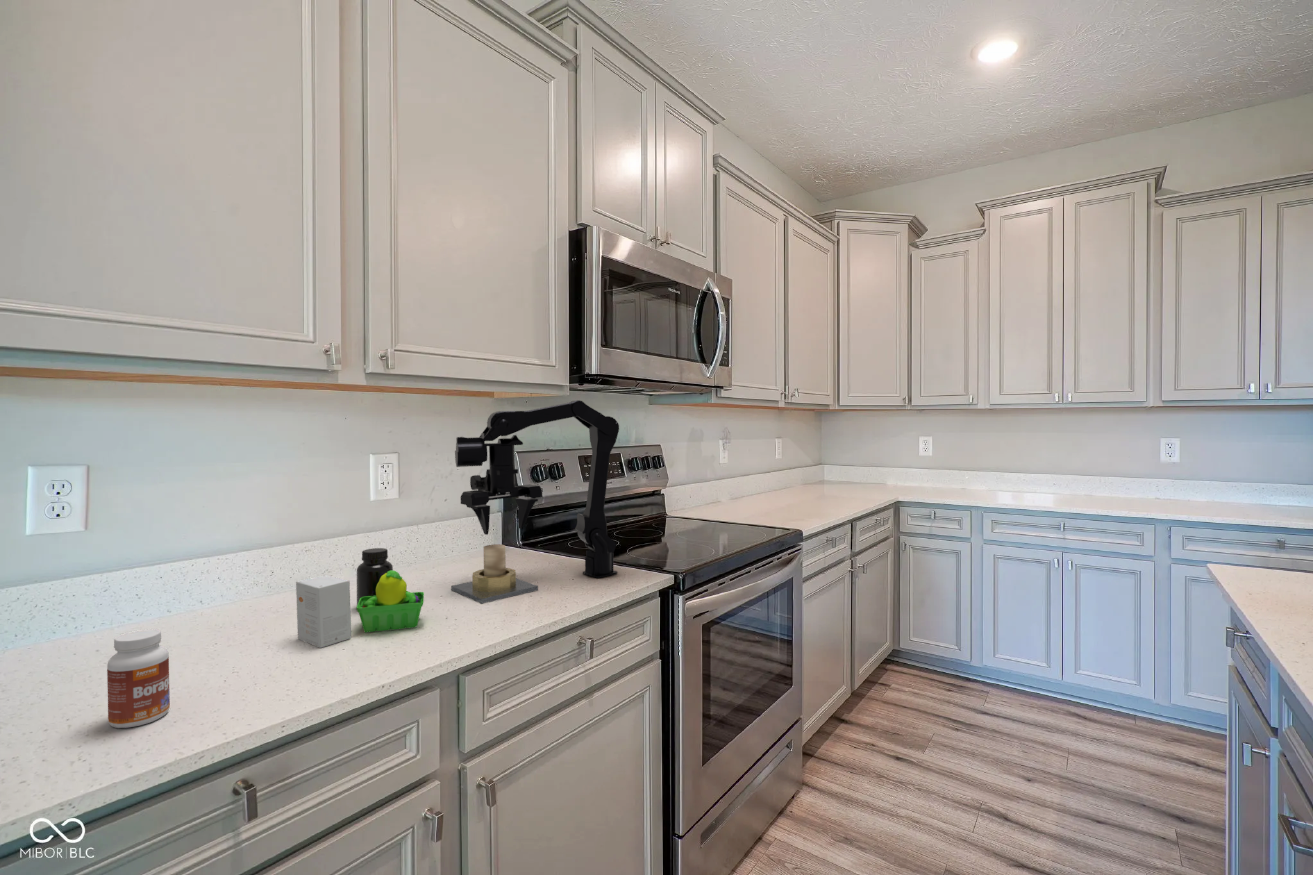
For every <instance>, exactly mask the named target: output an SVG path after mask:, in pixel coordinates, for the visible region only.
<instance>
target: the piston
mask: <svg viewBox="0 0 1313 875" xmlns="http://www.w3.org/2000/svg"><path fill="white" fill-rule="evenodd" d="M506 559H507V558H506V545H505V544H500V543H498V544H495V543H494V544H489V545H484V546H483V569H484V576H487V577H494V576H502V575H506V568H507V565H506V562H507V561H506Z"/></svg>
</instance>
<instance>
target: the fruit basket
mask: <svg viewBox="0 0 1313 875" xmlns="http://www.w3.org/2000/svg"><path fill="white" fill-rule="evenodd" d="M407 584H408V583H407V581H405V579H404V578H403V576H401V575H400V572H398V571H397V570H394V569H393V570H391V571H388V572H387V573H385V574H384V575H382V576H381V578H380V580H379V582H378V584H377V586H376V596H366V597H362V598H360V600H359V602H358V605H357V604H356V607H355V608H356V611H357V613H358V615H359V618H360V623H361V625H362V629H363V632H364V633H373V632H382V631H383V632H384V631H392V630H403V629H413V628H415V629H416V628H417V627H418V622H419V618H420V615H421V610H422V607H423V606H424V600H425V598H424V596H425V592H424V591H413V592H410V591H408V590H407V589H408V588H407V586H408V585H407Z"/></svg>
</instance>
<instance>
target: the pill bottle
mask: <svg viewBox="0 0 1313 875" xmlns="http://www.w3.org/2000/svg"><path fill="white" fill-rule="evenodd" d="M161 642H162V631H161V630H160V629H157V628H144V629H138V630H133V631H127V632H125V633H122V634H119V635H117V636H116V637H114V639H113V648H114V650H115V651H116V653H114V654H113V655H112V656H111V657H110V658H109V659H108V661H107V664H106V668H107V670H106V672H107V673H106V677H107V678H106V679H107V716H108V717H107V719H108V721H107V722H108V724H109V726H110V727H112V728H116V729H125V728H126V729H128V728H133V727H139V726H143V725H147V724H149V723H152V722H156V720H159V719H160V718H162V717H164V716H165V715H166V714H167V713H168V712H169V711H170V709H171V708H170V707H171V705H170V704H171V703H170V702H171V701H170V700H171V698H170V693H171V692H170V656H169V650H168V648H167V647H165V646H163V645H160V643H161Z"/></svg>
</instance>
